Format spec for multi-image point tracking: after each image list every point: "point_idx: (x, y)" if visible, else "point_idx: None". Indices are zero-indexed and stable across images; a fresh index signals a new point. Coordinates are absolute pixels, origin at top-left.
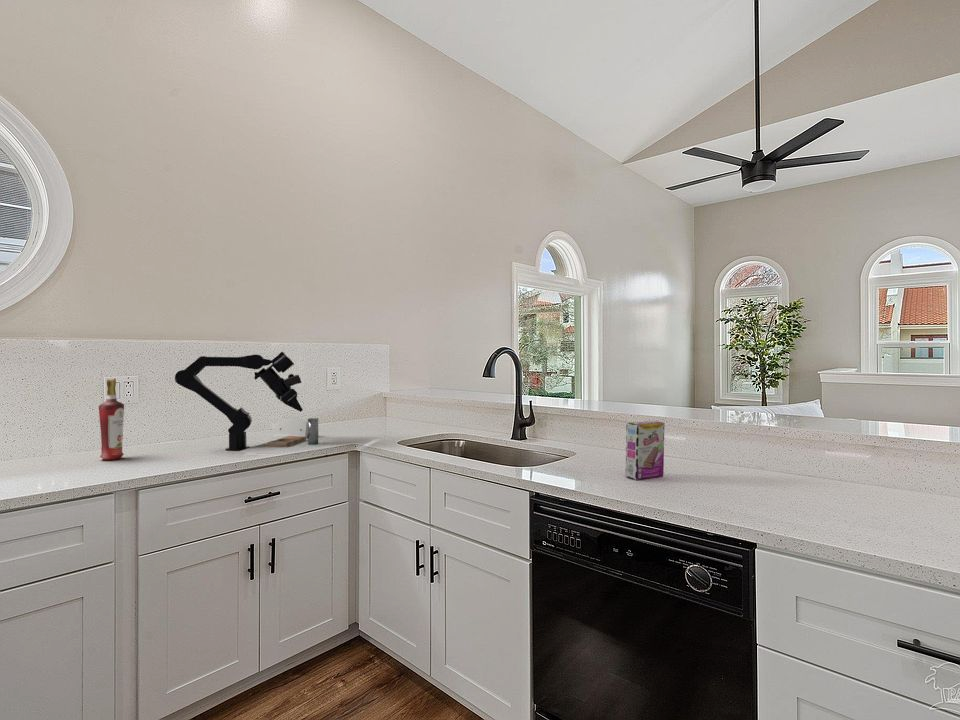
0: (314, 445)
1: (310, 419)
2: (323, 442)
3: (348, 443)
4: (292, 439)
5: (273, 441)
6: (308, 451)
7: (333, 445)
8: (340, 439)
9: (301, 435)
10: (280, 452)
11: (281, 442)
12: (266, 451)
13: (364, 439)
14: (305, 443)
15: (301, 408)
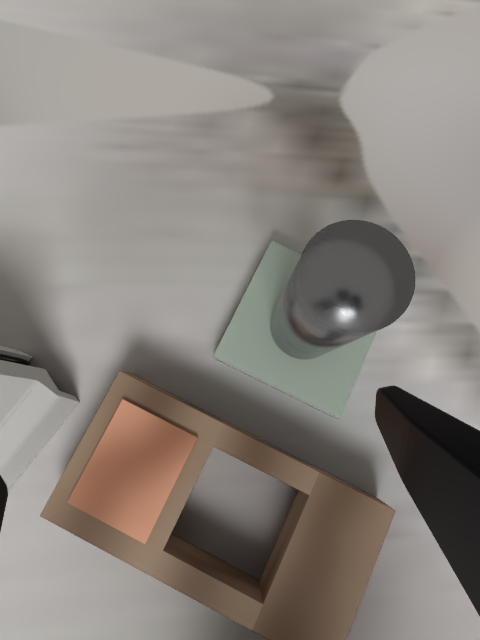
0: None
1: (409, 302)
2: (265, 261)
3: (250, 129)
4: (200, 472)
5: (291, 622)
6: (471, 355)
7: (296, 211)
8: (79, 162)
9: (13, 409)
10: None
11: (357, 550)
12: (414, 635)
13: (134, 37)
14: (271, 375)
15: (425, 407)
